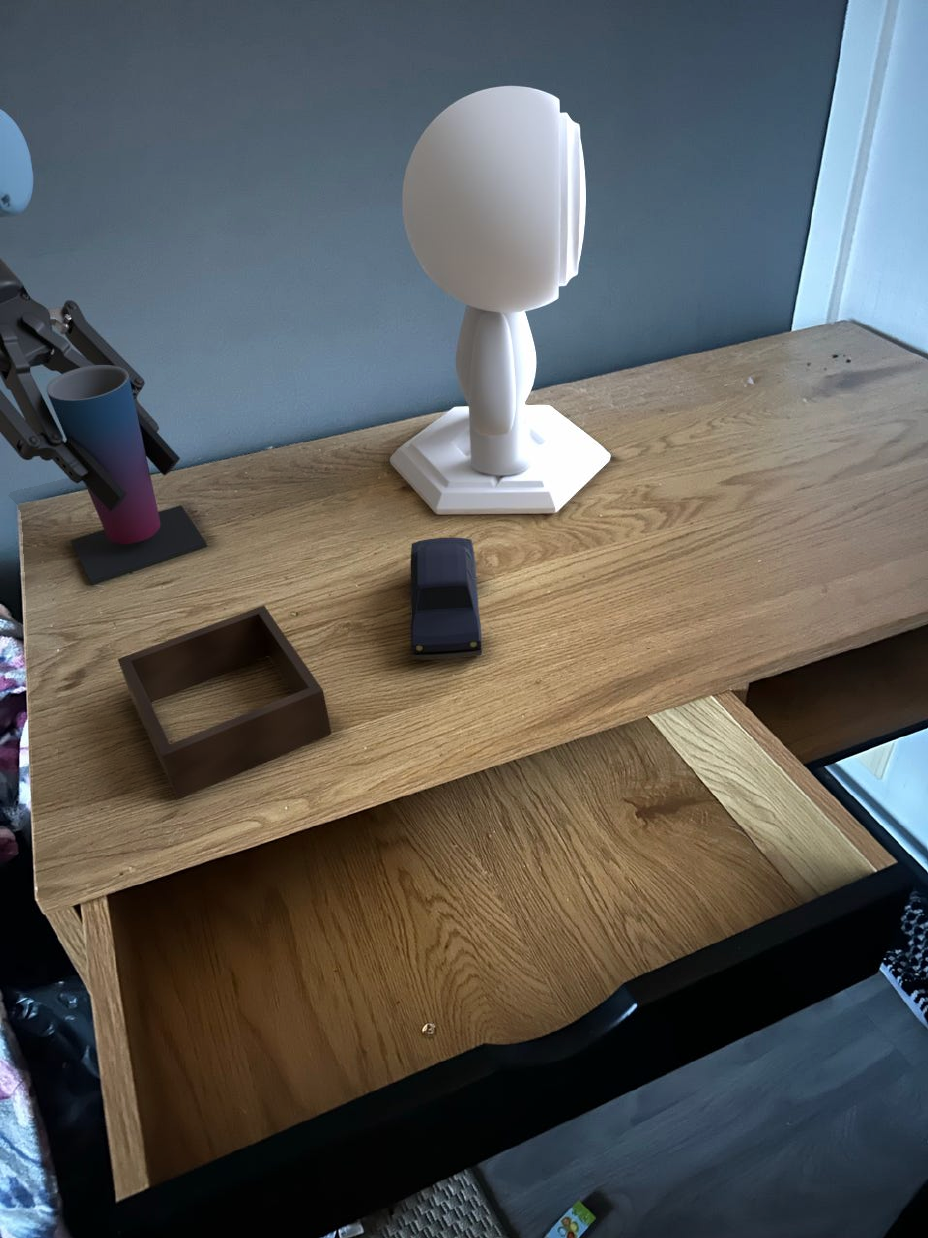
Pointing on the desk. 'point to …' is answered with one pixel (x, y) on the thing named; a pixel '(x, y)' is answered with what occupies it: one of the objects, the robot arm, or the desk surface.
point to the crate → (242, 736)
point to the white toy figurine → (498, 298)
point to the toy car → (444, 600)
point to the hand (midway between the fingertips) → (145, 484)
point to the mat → (138, 547)
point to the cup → (109, 444)
